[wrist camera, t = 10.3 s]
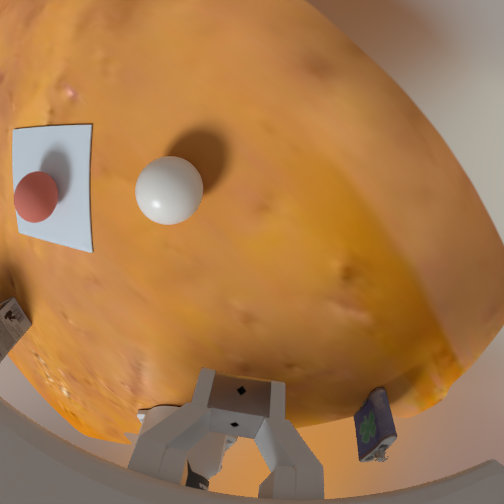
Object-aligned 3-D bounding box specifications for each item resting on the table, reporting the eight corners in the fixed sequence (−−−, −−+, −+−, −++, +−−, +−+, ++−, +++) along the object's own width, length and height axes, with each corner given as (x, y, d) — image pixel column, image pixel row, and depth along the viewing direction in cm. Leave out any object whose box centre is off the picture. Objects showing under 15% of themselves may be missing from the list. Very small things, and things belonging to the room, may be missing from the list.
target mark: (93, 252, 28) (92, 252, 28) (19, 232, 28) (18, 232, 28) (92, 124, 22) (91, 124, 21) (14, 129, 22) (13, 129, 21)
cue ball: (112, 206, 20) (156, 219, 25) (157, 227, 18) (200, 238, 23) (138, 142, 20) (178, 164, 25) (187, 150, 17) (225, 176, 23)
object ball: (21, 217, 24) (60, 210, 27) (13, 234, 20) (59, 225, 23) (16, 171, 22) (58, 164, 25) (7, 180, 18) (55, 172, 21)
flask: (374, 386, 34) (388, 448, 24) (390, 386, 34) (407, 446, 24) (350, 418, 38) (357, 473, 28) (365, 417, 38) (374, 471, 28)
